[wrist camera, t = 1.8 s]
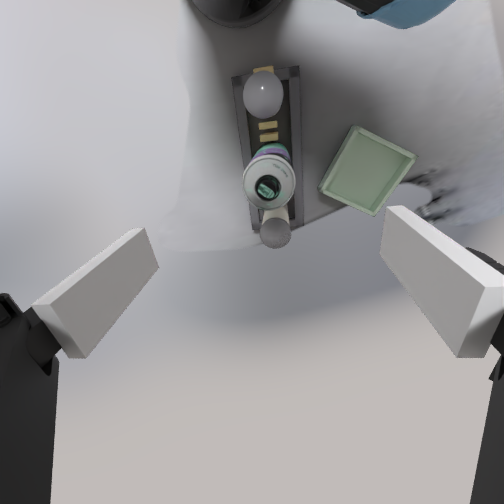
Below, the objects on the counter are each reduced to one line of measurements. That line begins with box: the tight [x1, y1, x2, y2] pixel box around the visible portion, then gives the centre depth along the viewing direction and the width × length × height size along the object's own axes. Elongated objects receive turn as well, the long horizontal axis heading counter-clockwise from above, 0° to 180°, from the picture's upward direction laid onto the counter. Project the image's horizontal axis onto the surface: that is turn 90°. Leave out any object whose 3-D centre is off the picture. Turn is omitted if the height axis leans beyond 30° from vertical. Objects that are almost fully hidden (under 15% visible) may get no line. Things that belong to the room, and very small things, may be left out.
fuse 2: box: [260, 203, 291, 248], centre depth 38 cm, size 4×4×12 cm
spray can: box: [242, 141, 296, 211], centre depth 31 cm, size 6×6×20 cm
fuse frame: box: [232, 65, 304, 230], centre depth 37 cm, size 23×9×6 cm, turn 7°
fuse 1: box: [243, 70, 283, 119], centre depth 30 cm, size 4×4×12 cm
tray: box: [318, 125, 419, 217], centre depth 38 cm, size 10×10×2 cm
